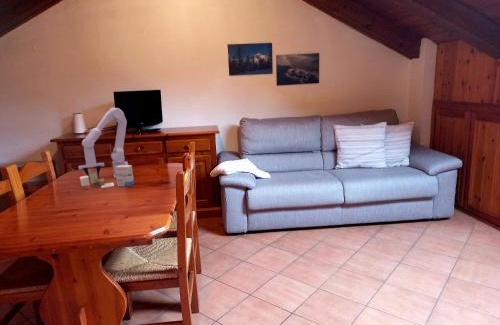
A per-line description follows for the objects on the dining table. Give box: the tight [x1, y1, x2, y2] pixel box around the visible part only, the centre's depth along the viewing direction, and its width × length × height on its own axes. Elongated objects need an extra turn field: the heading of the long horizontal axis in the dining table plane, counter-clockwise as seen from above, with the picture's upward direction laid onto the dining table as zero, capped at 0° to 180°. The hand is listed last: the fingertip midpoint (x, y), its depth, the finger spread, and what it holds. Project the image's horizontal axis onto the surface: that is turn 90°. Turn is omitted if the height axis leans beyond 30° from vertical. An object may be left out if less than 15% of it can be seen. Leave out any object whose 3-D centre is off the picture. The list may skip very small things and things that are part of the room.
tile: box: [100, 182, 115, 189], centre depth 204 cm, size 7×7×1 cm
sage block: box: [89, 171, 99, 183], centre depth 216 cm, size 4×4×5 cm
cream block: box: [79, 175, 91, 187], centre depth 208 cm, size 4×4×5 cm
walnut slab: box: [90, 178, 106, 189], centre depth 205 cm, size 7×7×3 cm
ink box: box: [115, 164, 135, 187], centre depth 202 cm, size 8×5×12 cm, turn 84°
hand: (93, 178), depth 216 cm, fingers closed on sage block, 4 cm apart
